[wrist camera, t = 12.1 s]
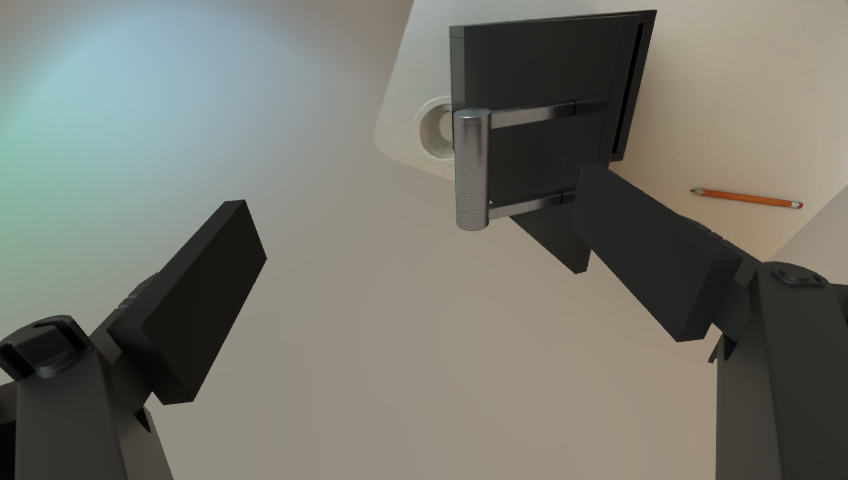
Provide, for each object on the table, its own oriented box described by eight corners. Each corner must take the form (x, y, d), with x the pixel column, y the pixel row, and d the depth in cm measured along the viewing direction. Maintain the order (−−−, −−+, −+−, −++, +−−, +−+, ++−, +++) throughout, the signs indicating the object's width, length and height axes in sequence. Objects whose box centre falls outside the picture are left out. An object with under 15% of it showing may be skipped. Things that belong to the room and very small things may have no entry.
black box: (598, 13, 37) (657, 9, 29) (579, 136, 43) (623, 160, 35) (449, 26, 36) (467, 25, 28) (452, 148, 43) (468, 176, 35)
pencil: (794, 206, 52) (800, 209, 51) (685, 192, 49) (689, 194, 48) (798, 201, 52) (804, 204, 51) (688, 186, 49) (693, 189, 48)
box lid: (641, 14, 14) (477, 28, 13) (586, 271, 21) (475, 301, 19) (472, 25, 28) (385, 32, 26) (472, 177, 34) (402, 190, 33)
